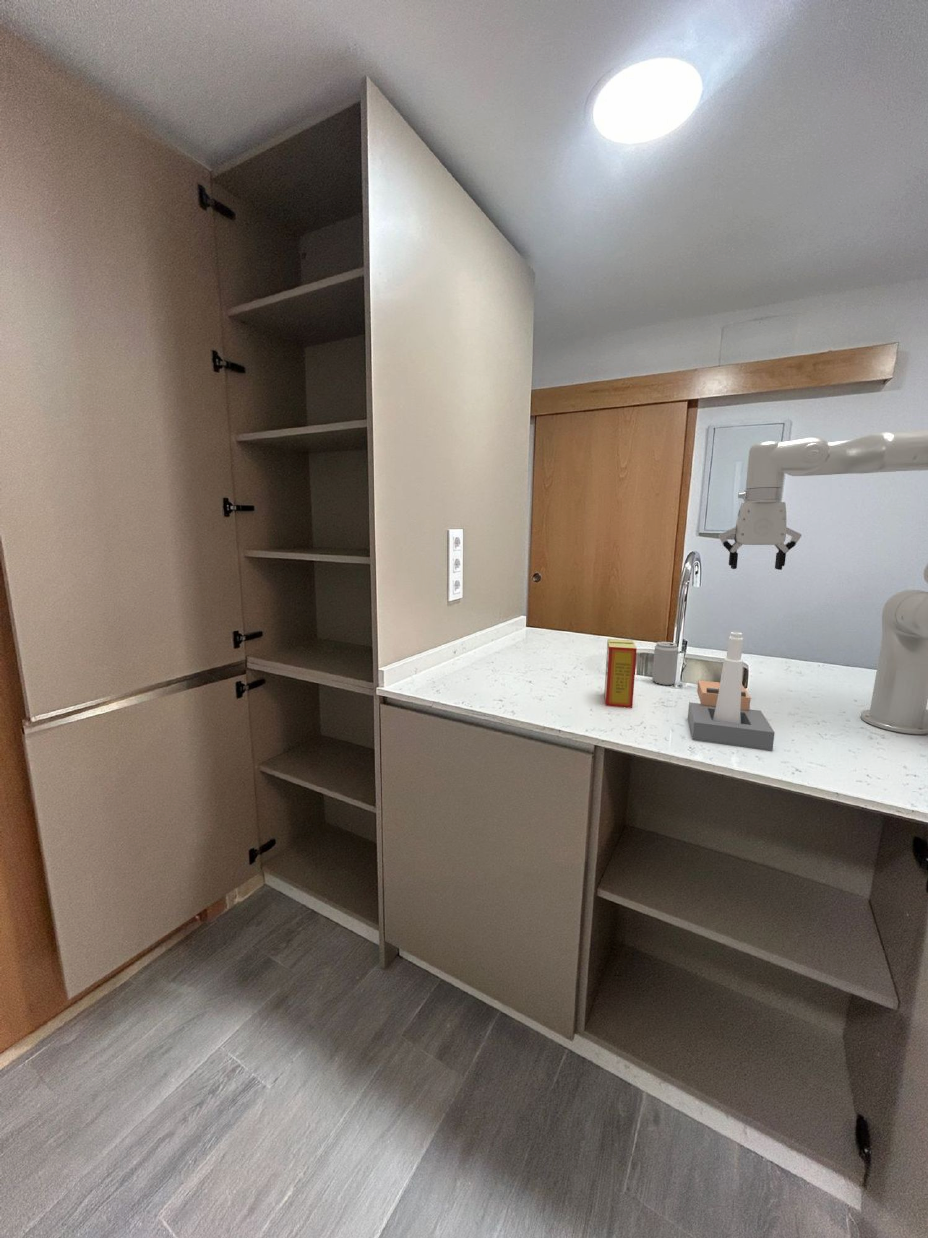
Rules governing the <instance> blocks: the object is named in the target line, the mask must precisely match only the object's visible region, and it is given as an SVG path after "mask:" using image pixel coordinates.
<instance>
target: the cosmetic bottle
mask: <svg viewBox="0 0 928 1238" xmlns="http://www.w3.org/2000/svg"><path fill="white" fill-rule="evenodd" d="M742 636H743V632H740V631H731V632H730V636H729V637H728V638H727V639H728V640H727V647H726V649H727V651H726V657H724V659H723V664H722V671H721V674H720V675H721V676H720V682H719V683H720V687H719V693H718V699H717V704H716V709H715V713H714V717H713V720H715V721H723V722H731V723H739V724H741V717H740V708H741V688H742V685H743V670H744V669H743V667H744V661H743V659H742V653H743V646H744V645H743V644H744V637H742Z"/></svg>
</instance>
